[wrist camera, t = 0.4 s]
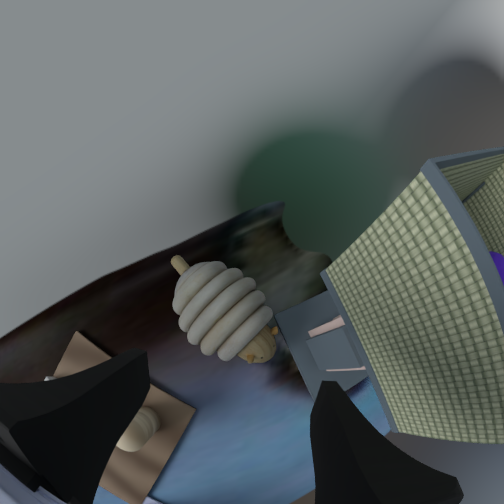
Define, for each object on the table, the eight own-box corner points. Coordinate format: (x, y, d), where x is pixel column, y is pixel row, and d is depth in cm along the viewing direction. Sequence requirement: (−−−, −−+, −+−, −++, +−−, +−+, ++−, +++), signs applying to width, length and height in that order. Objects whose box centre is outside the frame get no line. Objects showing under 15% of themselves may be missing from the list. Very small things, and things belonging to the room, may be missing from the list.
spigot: (153, 439, 28) (136, 458, 20) (127, 423, 28) (103, 437, 20) (165, 416, 30) (151, 430, 21) (139, 400, 30) (117, 409, 22)
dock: (140, 506, 23) (135, 515, 20) (33, 429, 24) (22, 431, 21) (196, 408, 31) (194, 412, 28) (78, 331, 33) (68, 328, 30)
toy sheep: (240, 386, 34) (251, 393, 24) (148, 303, 36) (126, 279, 26) (288, 328, 38) (316, 312, 28) (199, 253, 40) (196, 213, 30)
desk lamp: (363, 273, 43) (515, 142, 13) (399, 348, 38) (581, 281, 9) (265, 320, 38) (424, 152, 8) (306, 407, 33) (532, 449, 4)
